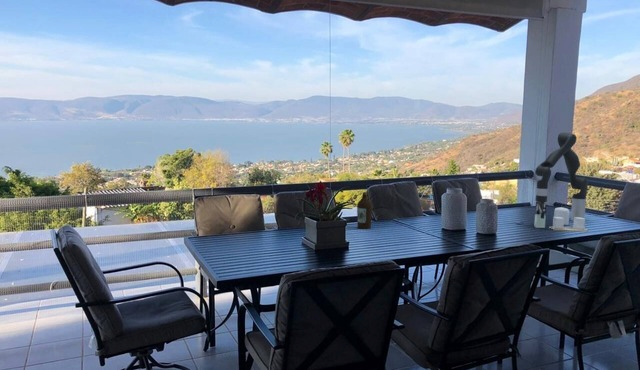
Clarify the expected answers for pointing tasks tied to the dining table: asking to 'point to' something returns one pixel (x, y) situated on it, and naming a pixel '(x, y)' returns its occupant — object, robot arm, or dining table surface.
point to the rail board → (570, 229)
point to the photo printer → (562, 214)
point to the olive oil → (364, 212)
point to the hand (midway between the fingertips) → (540, 217)
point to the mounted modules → (578, 224)
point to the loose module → (539, 221)
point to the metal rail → (565, 228)
